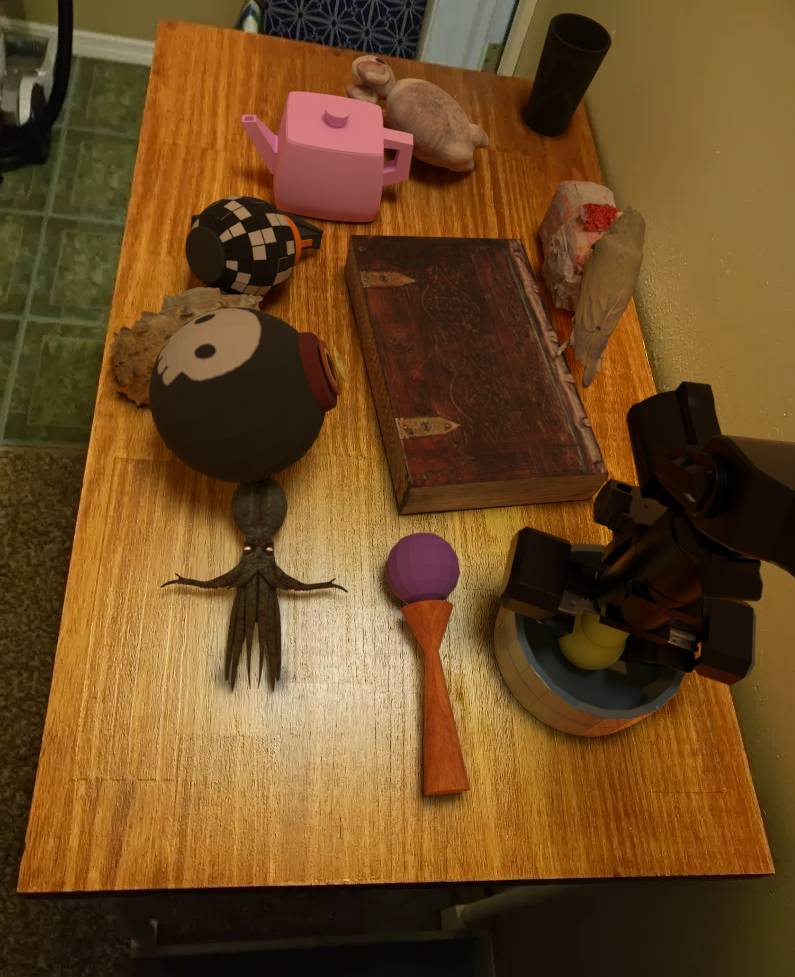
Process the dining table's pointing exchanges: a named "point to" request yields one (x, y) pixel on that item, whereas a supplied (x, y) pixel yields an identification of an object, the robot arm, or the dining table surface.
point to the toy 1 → (242, 393)
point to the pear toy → (592, 643)
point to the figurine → (256, 577)
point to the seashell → (163, 335)
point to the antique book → (468, 375)
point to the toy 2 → (419, 114)
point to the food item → (573, 236)
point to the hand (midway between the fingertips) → (583, 643)
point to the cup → (565, 71)
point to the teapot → (330, 156)
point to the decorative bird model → (606, 290)
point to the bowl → (576, 674)
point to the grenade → (247, 245)
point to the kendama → (431, 647)
